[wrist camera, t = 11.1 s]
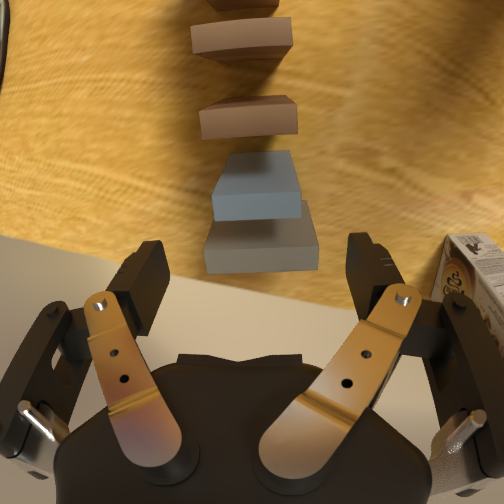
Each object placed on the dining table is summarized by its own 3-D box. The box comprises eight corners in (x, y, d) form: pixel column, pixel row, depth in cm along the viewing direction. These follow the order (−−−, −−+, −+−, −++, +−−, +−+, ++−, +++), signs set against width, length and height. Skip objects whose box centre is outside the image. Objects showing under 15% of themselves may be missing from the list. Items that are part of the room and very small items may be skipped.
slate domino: (230, 153, 26) (211, 196, 17) (289, 150, 25) (301, 191, 17) (232, 170, 26) (214, 221, 18) (290, 168, 26) (301, 217, 18)
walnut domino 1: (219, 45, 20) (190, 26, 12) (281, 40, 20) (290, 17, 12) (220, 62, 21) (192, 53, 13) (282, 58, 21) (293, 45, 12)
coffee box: (467, 292, 33) (522, 388, 19) (428, 297, 33) (479, 406, 19) (486, 230, 28) (566, 324, 14) (445, 232, 28) (526, 340, 15)
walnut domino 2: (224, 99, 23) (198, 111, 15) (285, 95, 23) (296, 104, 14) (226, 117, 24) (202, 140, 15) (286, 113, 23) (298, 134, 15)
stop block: (218, 204, 28) (202, 250, 21) (306, 200, 28) (319, 246, 21) (221, 224, 29) (207, 274, 22) (306, 220, 29) (317, 270, 22)
